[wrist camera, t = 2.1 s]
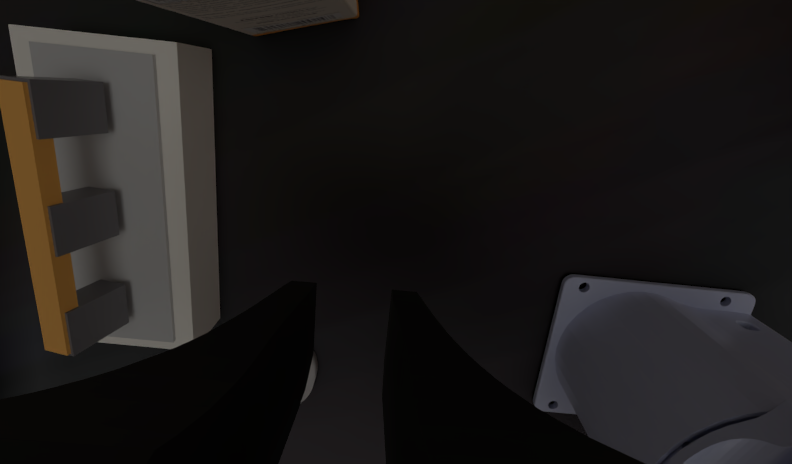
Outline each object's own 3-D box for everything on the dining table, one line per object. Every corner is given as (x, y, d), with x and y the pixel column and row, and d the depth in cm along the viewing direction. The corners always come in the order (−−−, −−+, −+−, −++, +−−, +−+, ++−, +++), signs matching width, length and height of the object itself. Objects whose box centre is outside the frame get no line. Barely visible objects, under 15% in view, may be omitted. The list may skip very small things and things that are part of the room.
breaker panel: (211, 49, 18) (174, 41, 15) (220, 317, 23) (192, 353, 20) (69, 33, 18) (3, 23, 15) (104, 306, 22) (57, 341, 19)
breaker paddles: (102, 81, 15) (24, 78, 13) (129, 322, 19) (69, 358, 16) (74, 78, 16) (-9, 74, 13) (105, 316, 19) (43, 351, 16)
